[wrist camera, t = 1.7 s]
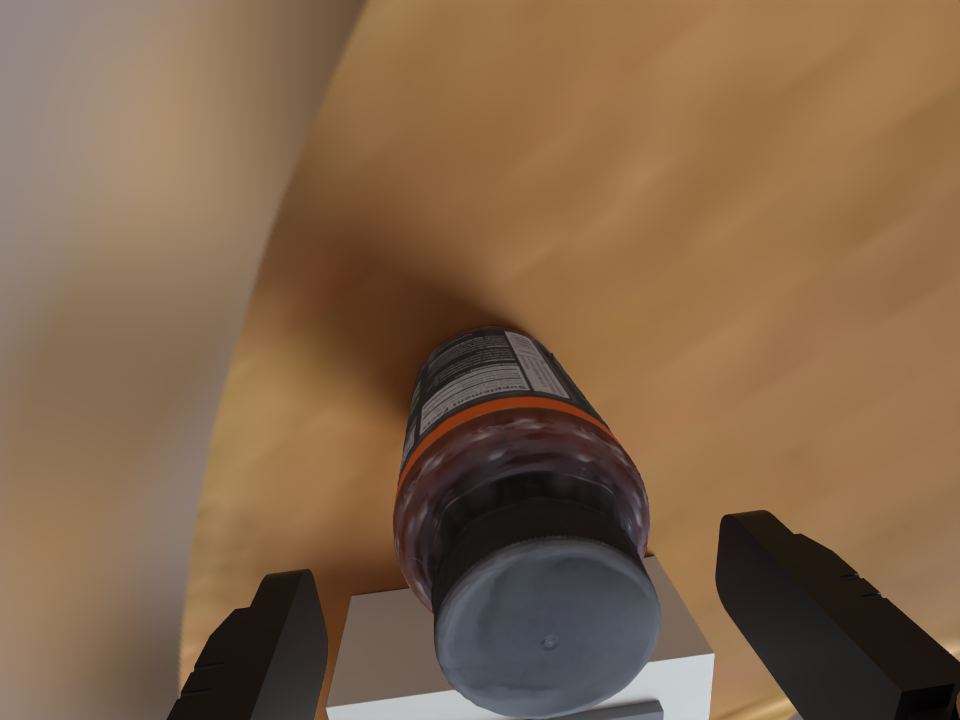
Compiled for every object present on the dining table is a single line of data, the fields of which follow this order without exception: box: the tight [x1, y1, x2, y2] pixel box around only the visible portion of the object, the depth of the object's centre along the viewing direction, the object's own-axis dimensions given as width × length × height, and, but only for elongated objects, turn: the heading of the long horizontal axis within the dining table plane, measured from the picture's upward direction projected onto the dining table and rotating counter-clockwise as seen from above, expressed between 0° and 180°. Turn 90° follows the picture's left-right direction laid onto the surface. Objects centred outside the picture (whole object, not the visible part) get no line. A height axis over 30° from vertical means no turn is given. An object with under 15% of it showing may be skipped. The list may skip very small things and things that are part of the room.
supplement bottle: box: [393, 326, 661, 720], centre depth 13 cm, size 6×6×11 cm
